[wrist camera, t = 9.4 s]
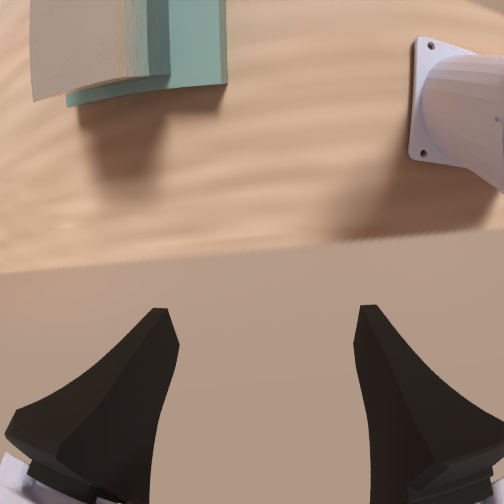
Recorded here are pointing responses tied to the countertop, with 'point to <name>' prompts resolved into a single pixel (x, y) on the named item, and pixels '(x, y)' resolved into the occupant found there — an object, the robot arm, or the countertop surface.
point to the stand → (180, 53)
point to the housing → (96, 44)
